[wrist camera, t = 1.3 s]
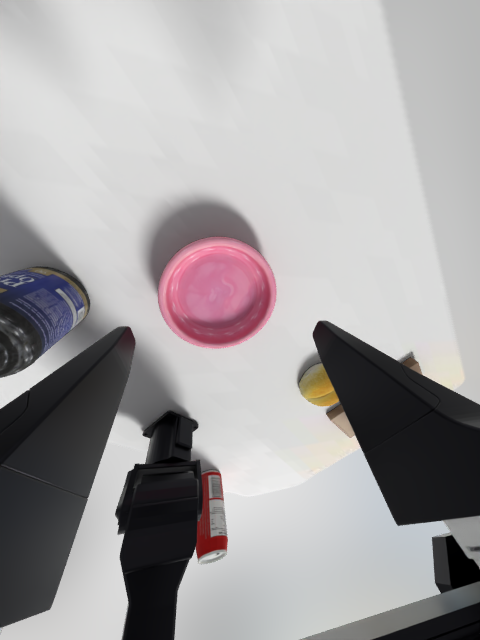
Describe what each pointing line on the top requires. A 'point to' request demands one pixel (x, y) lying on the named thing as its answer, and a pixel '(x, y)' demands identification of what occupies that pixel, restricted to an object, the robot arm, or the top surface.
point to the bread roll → (318, 387)
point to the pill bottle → (36, 314)
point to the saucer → (217, 292)
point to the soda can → (212, 520)
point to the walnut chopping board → (340, 417)
